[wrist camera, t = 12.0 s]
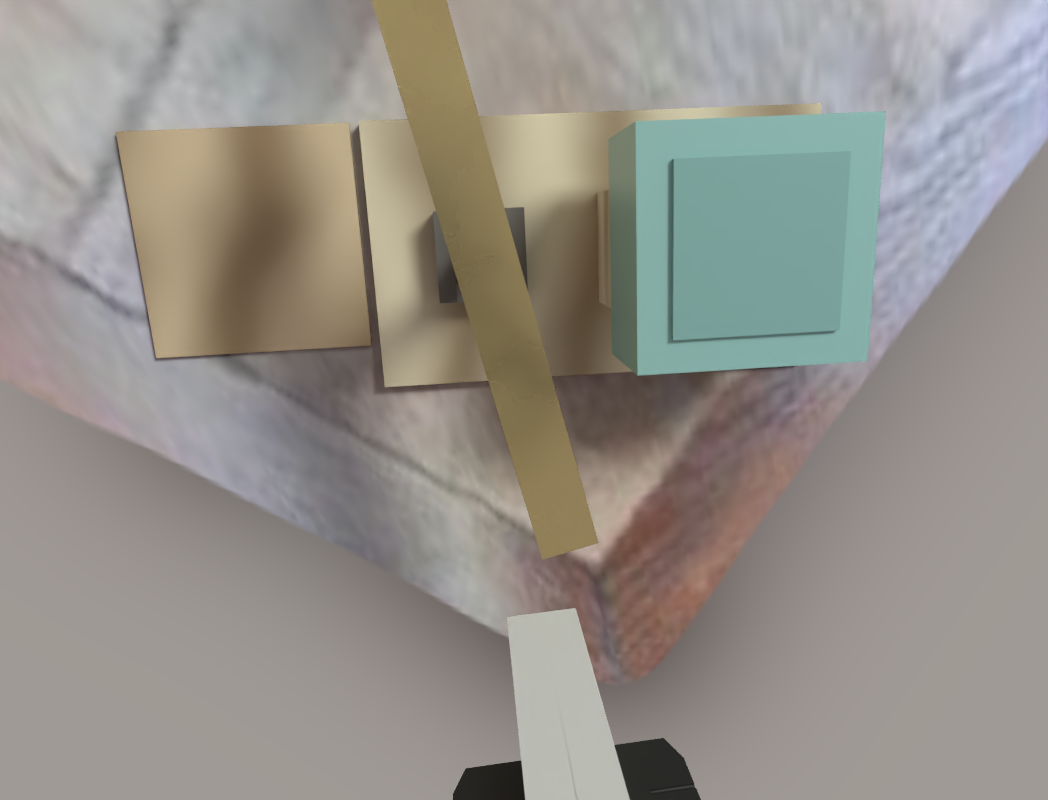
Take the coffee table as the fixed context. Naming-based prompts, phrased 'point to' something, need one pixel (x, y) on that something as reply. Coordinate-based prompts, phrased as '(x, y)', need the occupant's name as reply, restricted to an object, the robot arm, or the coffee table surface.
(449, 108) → the t key
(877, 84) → the coffee table surface
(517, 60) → the coffee table surface
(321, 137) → the pad
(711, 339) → the cover
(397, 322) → the housing
